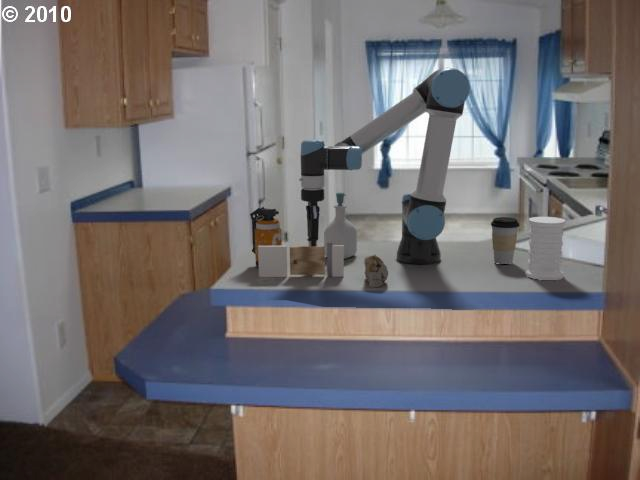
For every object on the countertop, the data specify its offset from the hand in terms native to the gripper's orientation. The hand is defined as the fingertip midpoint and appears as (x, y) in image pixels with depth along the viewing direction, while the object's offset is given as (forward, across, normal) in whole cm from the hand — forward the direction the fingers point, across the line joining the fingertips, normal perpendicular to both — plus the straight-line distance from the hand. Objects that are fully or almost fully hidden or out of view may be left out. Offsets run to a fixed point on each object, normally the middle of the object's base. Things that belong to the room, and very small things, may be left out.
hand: (312, 259), depth 242 cm
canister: (+4, -9, -15) cm, 17 cm away
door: (+3, +8, -3) cm, 9 cm away
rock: (+4, +18, +17) cm, 25 cm away
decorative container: (+3, +22, +70) cm, 74 cm away
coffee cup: (+3, +3, +64) cm, 65 cm away
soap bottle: (+4, -17, +12) cm, 21 cm away
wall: (+4, +7, -5) cm, 9 cm away
